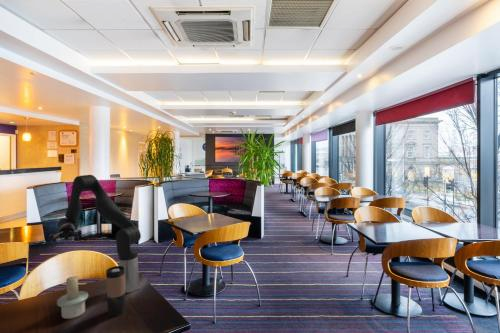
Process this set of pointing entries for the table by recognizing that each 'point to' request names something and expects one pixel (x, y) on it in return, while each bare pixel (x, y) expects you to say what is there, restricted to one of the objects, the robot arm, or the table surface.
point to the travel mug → (115, 290)
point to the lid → (72, 294)
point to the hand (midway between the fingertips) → (65, 239)
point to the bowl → (73, 310)
